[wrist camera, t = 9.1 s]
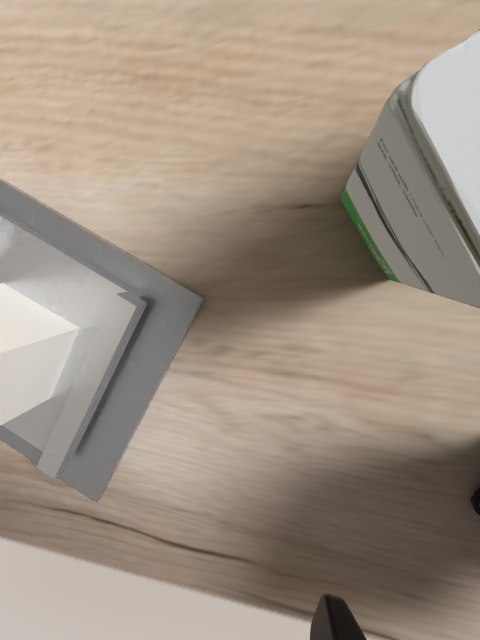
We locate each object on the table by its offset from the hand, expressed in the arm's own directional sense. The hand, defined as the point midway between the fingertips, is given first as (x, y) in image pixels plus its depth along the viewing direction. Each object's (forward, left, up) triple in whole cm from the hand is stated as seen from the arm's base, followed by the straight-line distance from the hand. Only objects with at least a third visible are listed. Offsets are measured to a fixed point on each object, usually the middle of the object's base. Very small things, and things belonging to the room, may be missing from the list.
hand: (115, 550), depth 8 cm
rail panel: (+11, +4, -13) cm, 17 cm away
